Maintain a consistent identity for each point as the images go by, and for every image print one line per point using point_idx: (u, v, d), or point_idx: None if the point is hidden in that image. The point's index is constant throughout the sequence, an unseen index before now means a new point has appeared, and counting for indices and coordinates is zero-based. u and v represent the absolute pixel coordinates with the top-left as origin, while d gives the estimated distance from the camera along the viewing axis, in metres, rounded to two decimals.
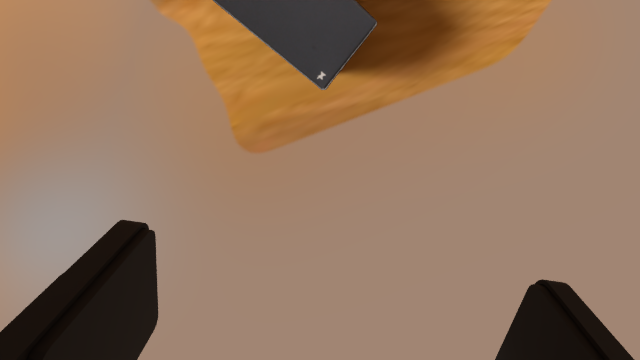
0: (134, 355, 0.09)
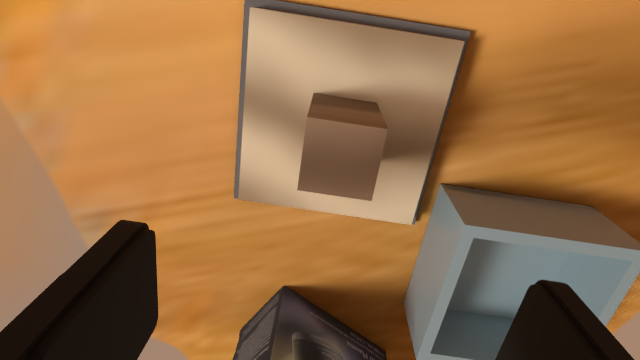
0: (134, 355, 0.09)
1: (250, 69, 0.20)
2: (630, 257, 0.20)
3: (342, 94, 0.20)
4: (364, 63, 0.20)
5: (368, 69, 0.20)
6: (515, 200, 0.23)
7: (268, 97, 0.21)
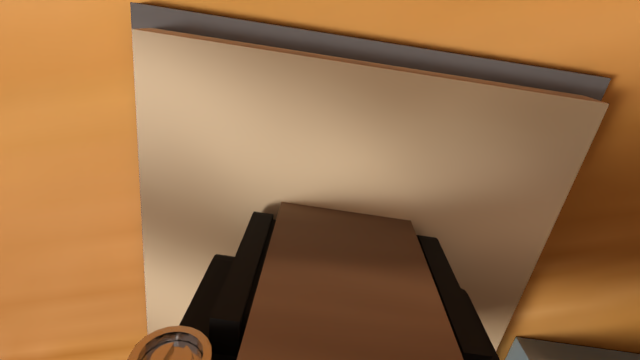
0: None
1: (146, 156, 0.10)
2: None
3: (340, 205, 0.10)
4: (387, 146, 0.09)
5: (395, 159, 0.09)
6: None
7: (189, 209, 0.10)
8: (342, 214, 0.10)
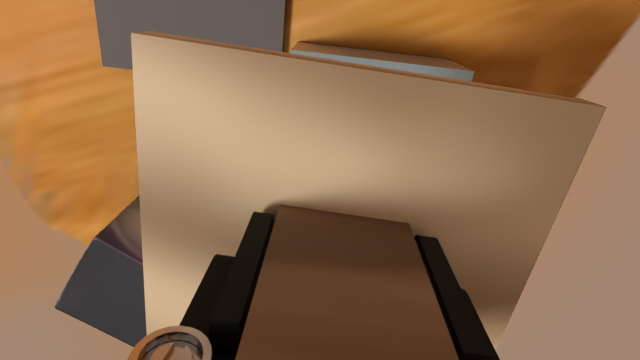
0: None
1: (145, 159, 0.10)
2: (455, 78, 0.20)
3: (339, 207, 0.10)
4: (385, 149, 0.09)
5: (393, 162, 0.09)
6: (367, 50, 0.24)
7: (188, 211, 0.10)
8: (340, 217, 0.10)
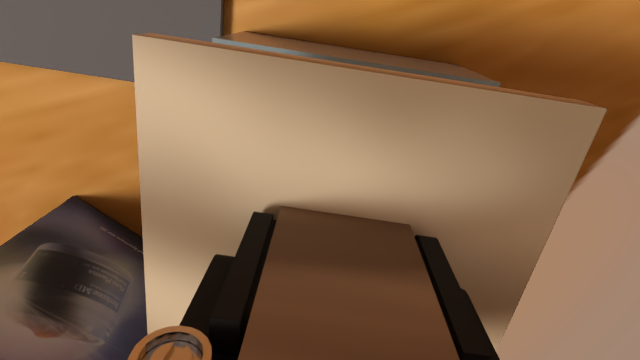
0: None
1: (147, 160, 0.10)
2: None
3: (340, 209, 0.10)
4: (386, 151, 0.09)
5: (394, 164, 0.09)
6: (341, 48, 0.17)
7: (189, 213, 0.10)
8: (341, 218, 0.10)
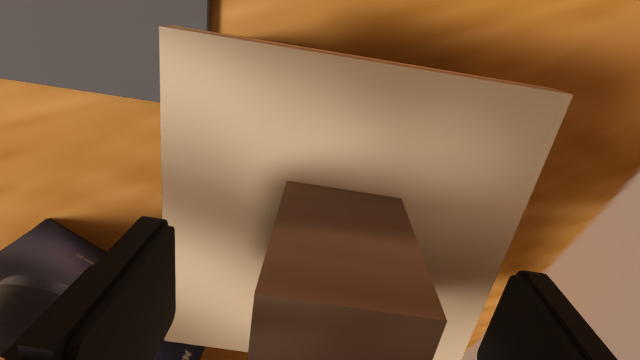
0: (155, 347, 0.09)
1: (168, 138, 0.11)
2: None
3: (339, 183, 0.11)
4: (380, 131, 0.11)
5: (387, 143, 0.11)
6: None
7: (205, 187, 0.11)
8: (340, 191, 0.11)
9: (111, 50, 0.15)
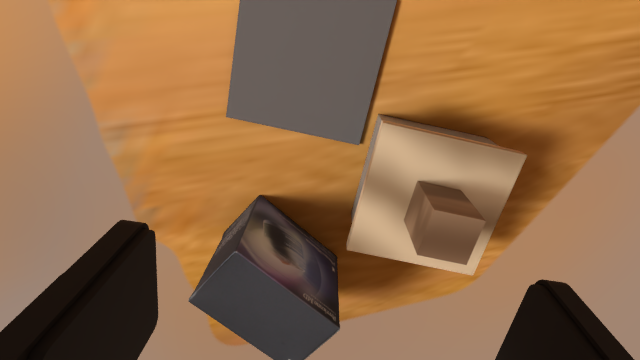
0: (134, 355, 0.09)
1: (375, 161, 0.28)
2: None
3: (437, 182, 0.29)
4: (456, 164, 0.28)
5: (458, 168, 0.28)
6: (430, 127, 0.32)
7: (384, 181, 0.29)
8: (438, 186, 0.29)
9: (321, 116, 0.33)
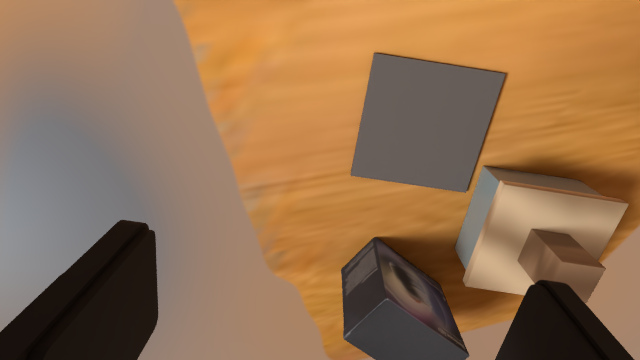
0: (134, 355, 0.09)
1: (495, 215, 0.33)
2: None
3: (548, 229, 0.34)
4: (566, 213, 0.33)
5: (567, 217, 0.33)
6: (530, 175, 0.37)
7: (502, 230, 0.34)
8: (550, 232, 0.33)
9: (433, 170, 0.38)
